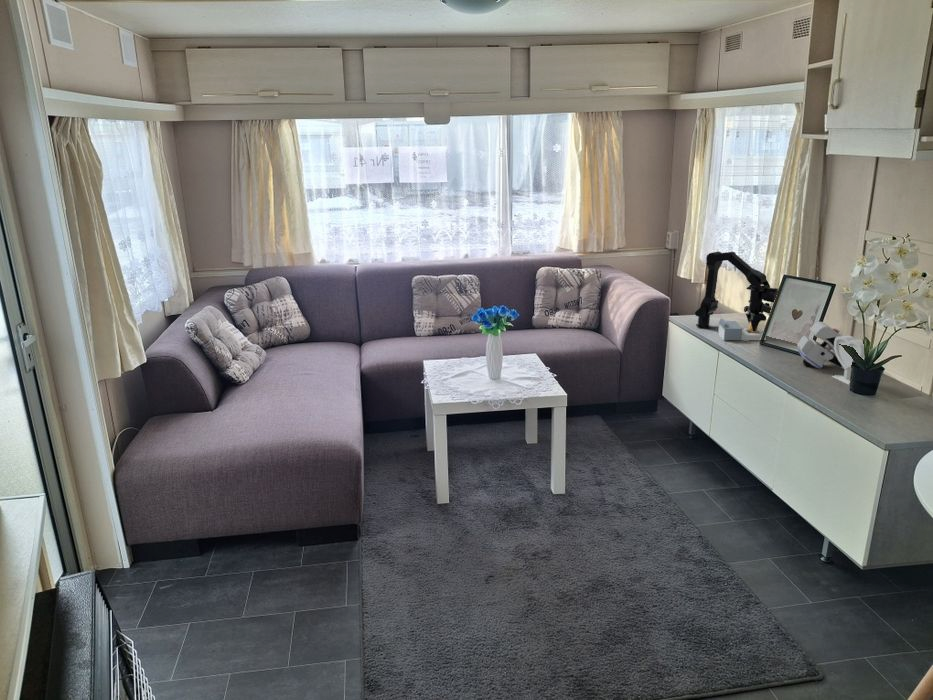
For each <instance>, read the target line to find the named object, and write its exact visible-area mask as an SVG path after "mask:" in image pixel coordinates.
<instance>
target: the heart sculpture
mask: <svg viewBox="0 0 933 700" xmlns="http://www.w3.org/2000/svg"><path fill="white" fill-rule="evenodd" d="M839 344H841V345H847V346H850V347H853V348H854V349H855V350H856V352H857V353H858V355H859V356H860V357H861V358H862V359H863V358H864V357H865V356H864V344H863V340H862V339H856V338H855V337H854V336H852V335H842V336H839V337H836V338H835V341H834V351H835V354H836V357H837V359H838V360H839V362H840V363H841V365H842V366H843V368H844V369H843V368H842V369H843V370H844V371H843V374H835V375H834V376H833V375H831V377H832V378H834V379H836V380H839V382H842V383H843V384H846V385H848V386H850V385H849V383H850V379H851V374H852V368H851V365H852V361H853V359H852V357H851V356H850V355H849V354H848V353H847V352H846V351H845V350H844V348H843V347H842V346H841V345H839Z"/></svg>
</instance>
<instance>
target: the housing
mask: <svg viewBox="0 0 933 700" xmlns="http://www.w3.org/2000/svg"><path fill="white" fill-rule="evenodd" d="M718 328H719V333H718V332H717V333H718V335H719V337H720V338H721V337H722V338H721V339H722V340H723V341H724V333H725V330H724V329H723V327H722V326H721V325H720V324H719V323H718ZM741 328H742V337H741V340H760V338H761V336H762V333H763V332H764V331H763V330H762V328H761V327H760V328H759V327H758V331H757V333H749V327H747V328H745V327H744V328H743V327H741Z"/></svg>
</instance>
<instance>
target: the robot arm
mask: <svg viewBox="0 0 933 700" xmlns="http://www.w3.org/2000/svg"><path fill="white" fill-rule="evenodd" d="M705 261H706V267H707V276H706V287H705V292H704V293H705V294H704V297H703V299H702V300H701V302H700V306H699V308H698V309H696V311H694V313H695V317H698V318H697V323H696V325H695V326H696V328H698V329H711V328H712V326H711V325H710V322H711V321H710V320H711V319H710V317H711V315H714V312H716V311H717V309H718V308H719V307H718V304H719V300H716V299H717V298H716V289H717V283H718V276H719V270H720V268H721V266H722V264H723V261H727V262H729V263H730V264H731V265H732V266H734V267H735V268H736V269H737V270H738V271H739V272H741V274H742V275H744V276H745V278H746V281H747V282H748V283H749V284H750V285H748V286H747V287H746V290H749V291H750V296H749V299H748V305H745V306H743V312H744V313H745V316H746V318H747V321H748V325H749V324H750V322H751V326H752V330H753V331H756V329H757V326H758V327H759V324H760V322H762V321H763V322H765V321H767V316H766V315H765V314H768V315H770V314H769V313H770V310H771V307H772V306H771V304H770V303H774V300H775V298H776V295H777V293H778V291H779V288H777V287H771V284H769V282H768V279H767V275H766V274H764V273H763V272H762V271H759V270H757V269H755V268H753V267H752V266H750V265H749V264H748V263H747V262H746V261H744V259H742V258H741V257H740V256H739V255H738V254H736V252H735V251H726V252H721V251H714V252H710V253H708V254H707V255H706V259H705ZM764 313H765V314H764Z"/></svg>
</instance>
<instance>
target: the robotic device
mask: <svg viewBox="0 0 933 700" xmlns="http://www.w3.org/2000/svg"><path fill="white" fill-rule="evenodd" d="M809 332H810V333H812V335H813V336H814V337H816V338H818V339H820V340H821V341H822V342H821V344H820V343H819V342H817V341H816V340H815V339H813V338H811V337H807V336H806V335H802V337H800V339H799V341H798V342H797V344H796V345H797V348H798V353H799V354H800V357H802V358H803V361H802V363H803V365H804V366H805V367H810V366H813V367H814V368H817V369H820V370H822V368H823V365H824V364H825V363H826V362H829V363H831V364H833V365H836V366H838V367H840V368H842V369H843V370H845V369H844V368H843V366H842V365H841V363H840V362H839V360H838V359H837V357H836V354H835V351H834V341H835V338H836V337H839V336H843V335H842V334H840V332H841V330H839V329H837V327H835V326H834V327H833V328H832V327H831V326H829V325H828V324H826V323H825V322H823V321H817V322H815V323H814V324H812V326H811V327H810V328H809ZM826 346H828V348H826Z"/></svg>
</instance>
